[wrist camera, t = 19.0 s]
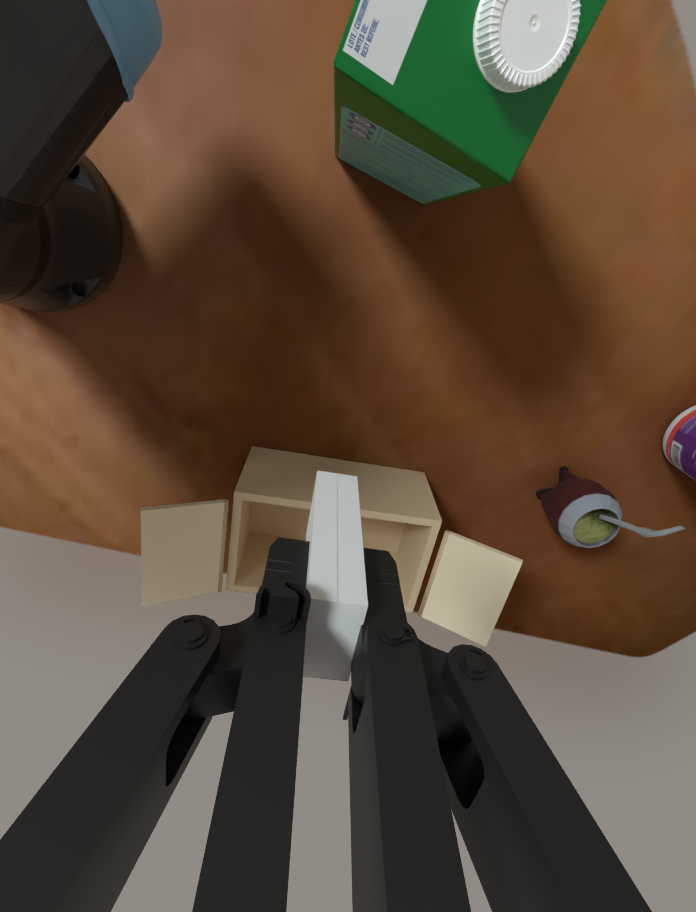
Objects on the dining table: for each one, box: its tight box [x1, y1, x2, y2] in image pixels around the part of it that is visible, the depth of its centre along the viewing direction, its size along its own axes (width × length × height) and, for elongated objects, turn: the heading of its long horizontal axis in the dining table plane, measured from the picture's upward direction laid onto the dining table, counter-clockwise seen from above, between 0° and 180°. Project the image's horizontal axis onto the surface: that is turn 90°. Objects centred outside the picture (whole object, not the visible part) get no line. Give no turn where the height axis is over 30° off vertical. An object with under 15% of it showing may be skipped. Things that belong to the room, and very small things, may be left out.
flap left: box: [141, 499, 229, 607], centre depth 43 cm, size 1×11×7 cm
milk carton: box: [334, 0, 607, 205], centre depth 28 cm, size 9×9×25 cm
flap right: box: [418, 530, 523, 647], centre depth 46 cm, size 1×11×7 cm
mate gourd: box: [536, 467, 685, 548], centre depth 48 cm, size 8×8×15 cm
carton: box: [226, 446, 442, 613], centre depth 51 cm, size 20×12×10 cm, turn 80°
